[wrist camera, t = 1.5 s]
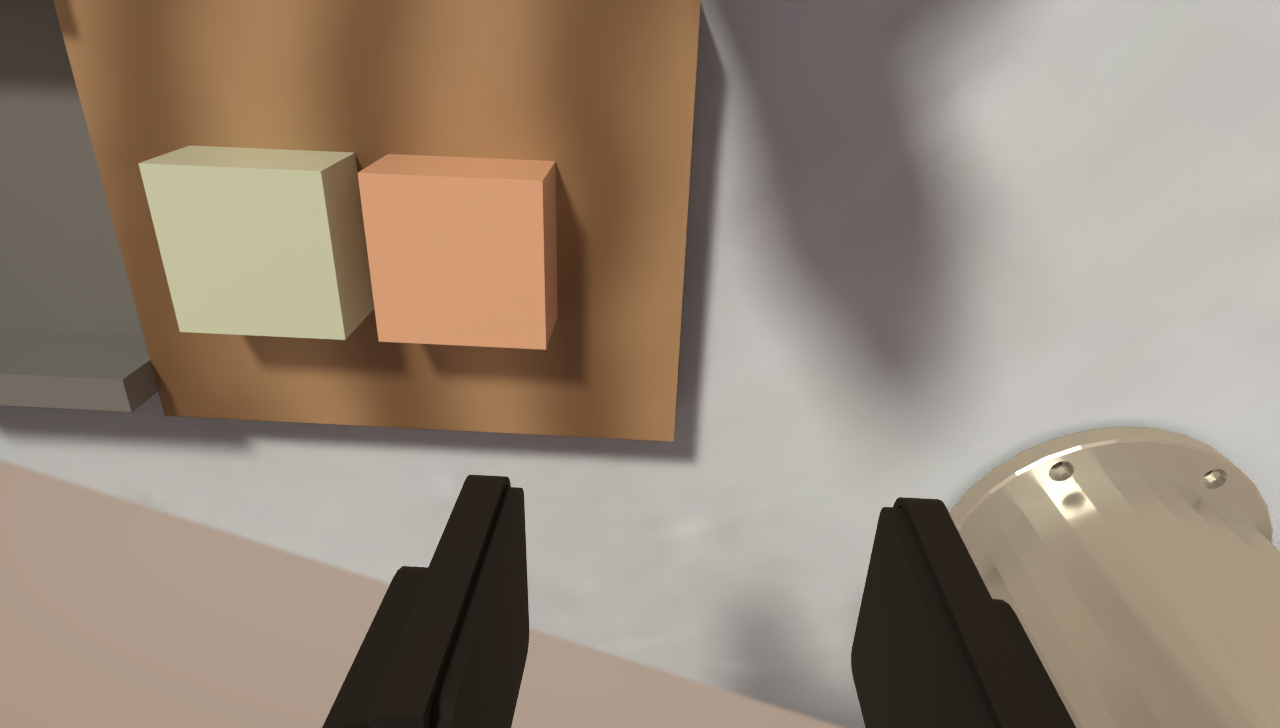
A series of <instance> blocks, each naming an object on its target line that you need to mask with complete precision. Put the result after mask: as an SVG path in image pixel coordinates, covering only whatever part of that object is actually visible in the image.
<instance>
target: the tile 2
mask: <svg viewBox="0 0 1280 728" xmlns="http://www.w3.org/2000/svg"><path fill="white" fill-rule="evenodd" d="M358 181H359V189H360V197H361V205H362V213H363V221H364V229H365V236H366V244H367V252H368V260H369V268H370V276H371V284H372V292H373V300H374V308H375V316H376V324H377V332H378V340H379V342H398V343H418V344H439V345H460V346H480V347H501V348H522V349H542V350H546V349H547V346H548V343H549V340H550V337H551V334H552V332H553V329H554V326H555V323H556V320H557V317H558V306H557V235H556V165H555V161H540V160H516V159H493V158H470V157H446V156H423V155H400V154H387V155H386V156H384V157H382V158H381V159H379V160H378V161H376V162H374V163H373V164H371V165H369V166H368V167H366V168H365V169H363V170H361V171H360V172H358Z"/></svg>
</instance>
